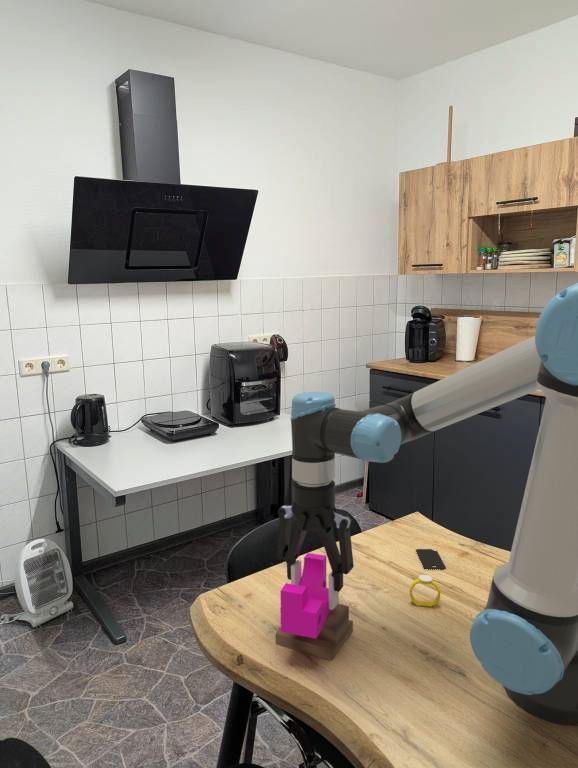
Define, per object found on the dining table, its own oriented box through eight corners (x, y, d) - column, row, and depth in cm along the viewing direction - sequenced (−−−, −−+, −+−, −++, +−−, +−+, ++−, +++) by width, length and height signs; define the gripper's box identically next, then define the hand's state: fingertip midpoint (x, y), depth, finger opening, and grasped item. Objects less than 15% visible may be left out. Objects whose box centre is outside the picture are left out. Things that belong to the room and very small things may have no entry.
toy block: (316, 638, 97) (316, 596, 96) (281, 631, 99) (280, 590, 98) (339, 594, 111) (339, 557, 110) (307, 589, 113) (307, 552, 112)
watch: (438, 603, 119) (441, 576, 118) (439, 611, 116) (442, 583, 115) (408, 599, 120) (411, 572, 119) (408, 606, 118) (411, 579, 116)
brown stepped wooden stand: (352, 630, 110) (352, 601, 109) (331, 660, 101) (331, 628, 100) (300, 616, 115) (300, 587, 114) (275, 643, 106) (275, 613, 105)
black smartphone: (436, 549, 142) (446, 568, 133) (436, 551, 142) (446, 571, 133) (415, 549, 142) (424, 568, 133) (415, 551, 143) (424, 571, 133)
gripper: (374, 481, 102) (373, 603, 105) (275, 466, 111) (277, 579, 115) (358, 495, 95) (358, 625, 99) (254, 478, 104) (257, 597, 108)
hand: (314, 600), depth 107 cm, fingers closed on toy block, 7 cm apart
